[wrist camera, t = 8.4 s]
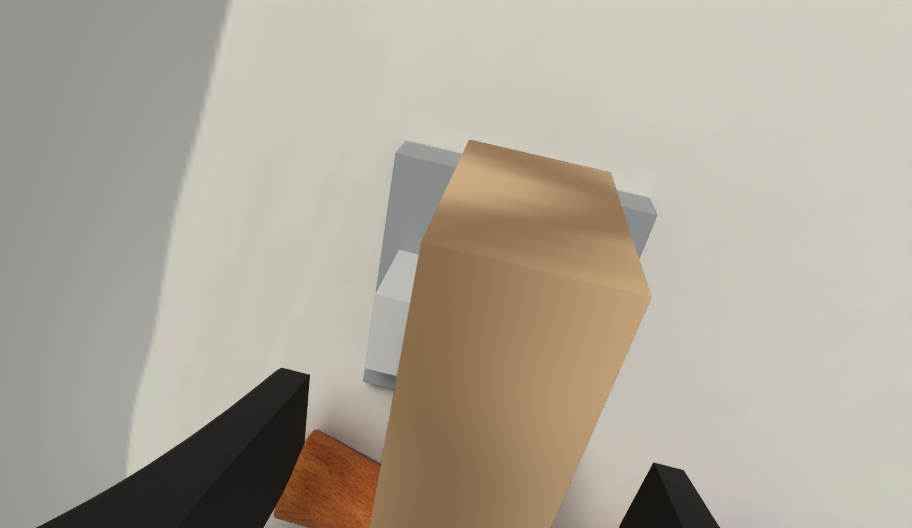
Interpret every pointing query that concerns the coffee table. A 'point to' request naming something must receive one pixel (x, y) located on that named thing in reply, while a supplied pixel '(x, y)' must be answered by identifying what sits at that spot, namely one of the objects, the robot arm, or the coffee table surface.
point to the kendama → (329, 486)
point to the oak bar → (508, 343)
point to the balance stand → (408, 217)
